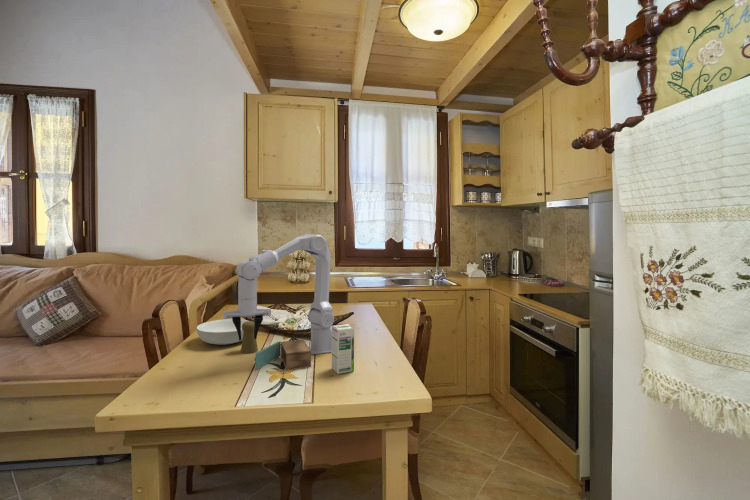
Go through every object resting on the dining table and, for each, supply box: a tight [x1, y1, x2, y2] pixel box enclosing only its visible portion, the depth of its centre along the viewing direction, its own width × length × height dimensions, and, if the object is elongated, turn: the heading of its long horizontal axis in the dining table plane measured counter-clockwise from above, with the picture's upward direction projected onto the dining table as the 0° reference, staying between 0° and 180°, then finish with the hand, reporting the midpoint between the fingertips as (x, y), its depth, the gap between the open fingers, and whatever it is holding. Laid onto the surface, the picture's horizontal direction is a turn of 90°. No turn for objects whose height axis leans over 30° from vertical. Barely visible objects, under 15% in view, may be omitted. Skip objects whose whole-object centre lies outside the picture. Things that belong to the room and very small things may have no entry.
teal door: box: [254, 341, 282, 370], centre depth 122 cm, size 2×13×5 cm, turn 163°
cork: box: [240, 320, 259, 355], centre depth 133 cm, size 6×6×11 cm
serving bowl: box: [196, 318, 249, 346], centre depth 144 cm, size 21×21×7 cm
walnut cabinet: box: [280, 339, 312, 371], centre depth 124 cm, size 8×13×6 cm, turn 23°
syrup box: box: [331, 323, 355, 375], centre depth 117 cm, size 6×6×14 cm
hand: (247, 338), depth 118 cm, fingers open, 4 cm apart
